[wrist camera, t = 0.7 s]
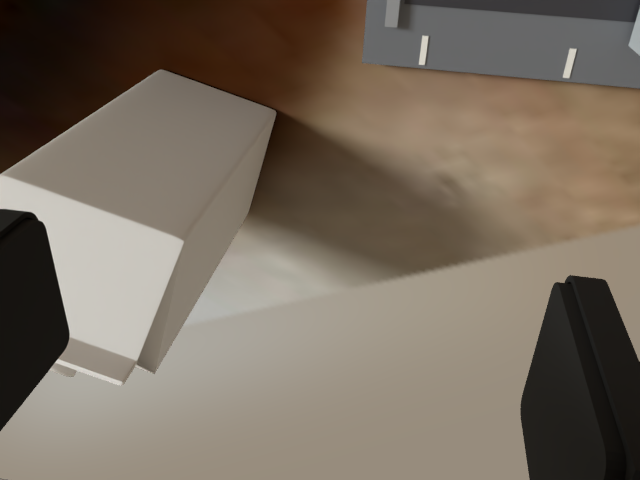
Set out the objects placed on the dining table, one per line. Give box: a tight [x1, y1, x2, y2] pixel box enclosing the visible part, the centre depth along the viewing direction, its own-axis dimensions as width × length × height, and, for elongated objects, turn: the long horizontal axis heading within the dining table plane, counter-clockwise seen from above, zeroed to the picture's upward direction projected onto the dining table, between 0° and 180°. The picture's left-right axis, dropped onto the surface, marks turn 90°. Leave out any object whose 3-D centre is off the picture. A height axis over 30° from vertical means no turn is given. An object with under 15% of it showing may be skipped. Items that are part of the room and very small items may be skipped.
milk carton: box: [0, 70, 276, 385], centre depth 29 cm, size 7×7×19 cm
